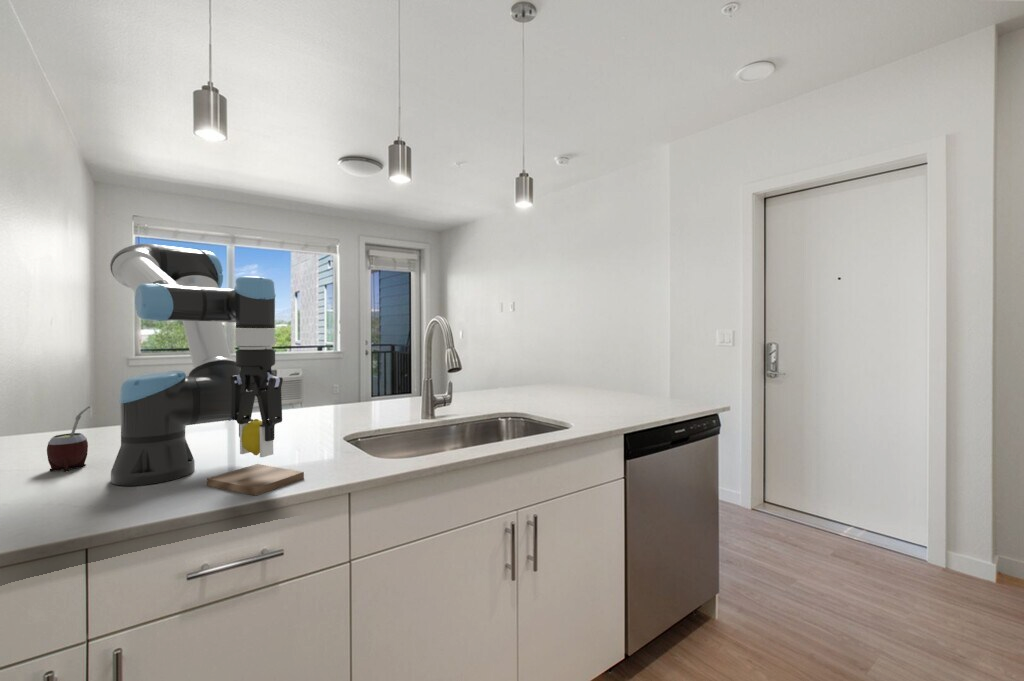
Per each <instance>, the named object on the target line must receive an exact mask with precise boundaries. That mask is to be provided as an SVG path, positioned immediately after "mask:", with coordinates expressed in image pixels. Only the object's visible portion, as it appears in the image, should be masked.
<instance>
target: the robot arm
mask: <svg viewBox="0 0 1024 681" xmlns="http://www.w3.org/2000/svg"><path fill="white" fill-rule="evenodd" d="M109 267H110V268H109V269H110V272H111V274H112V276H113V278H114V279H115V280H116V281H117V282H118V283H119V284H121V285H122V286H124V287H126V288H129V289H131V290H132V291H133V292H134V293H135V296H134V308H135V311H136V314H137V316H138V318H140V319H142V320H145V321H146V320H147V321H157V322H165V321H168V322H170V321H172V322H174V321H175V322H182V325H183V329H184V333H185V337H186V341H187V346H188V350H189V353H190V357H191V362H192V366H193V368H191V369H190V370H189V372H188V375H186V373H185V371H183V370H169V371H160V372H153V373H146V374H142V375H141V374H140V375H137V376H133V377H129V378H127V379H125V380H124V381H123V382H122V384H121V386H120V395H119V396H120V397H119V400H118V402H119V404H120V447H119V450H118V452H117V455H116V457H115V460H114V462H113V465H112V468H111V471H110V482H111V484H113V485H116V486H124V487H125V486H127V487H128V486H130V487H131V486H142V485H143V486H145V485H153V484H159V483H164V482H169V481H174V480H176V479H180V478H182V477H186V476H188V475H190V474H192V473H193V472H195V463H196V462H195V459H194V456H193V454H192V451H191V449H190V446H189V444H188V441H187V439H186V427H187V426H191V425H192V426H193V425H198V424H199V425H200V424H209V423H215V422H217V423H218V422H224V421H229V422H230V421H236V423H237V424H238V437H239V454H240V455H245V454H249V453H251V452H248V451H247V450H245V448H244V447H243V445H242V439H241V438H242V432H243V429H244V427H245V426H246V425H247V424H248V423H249V422H251V421H253V420H254V419H253V418H252V413H253V409H254V405H255V400H256V398H257V403H258V408H259V413H260V418H261V421H262V425H260V453H259V458H265V457H268V456H272V455H274V440H275V425H277V424H279V423H282V422H283V405H282V404H283V402H282V400H283V399H282V386H283V385H282V384H283V381H284V380H283V377H282V376H275V375H274V374H273V370H272V367H273V366H275V365H276V350H275V349H273V348H272V347H275V345H276V339H275V338H276V336H275V335H276V329H275V328H276V325H275V324H276V323H275V322H276V295H277V294H276V291H275V290H276V289H275V283H274V282H275V281H273V279H271V278H269V277H263V276H239V277H236V279H235V284H234V288H225V287H223V288H222V286H223V282H224V275H223V266H222V263H221V260H220V259H219V257H218V256H217V255H216V254H215V253H214V252H211V251H209V250H203V249H199V248H186V247H180V246H179V247H178V246H169V245H162V244H155V243H137V244H132V245H129V246H126V247H124V248H122V249H120V250H118V251H117V252H115V254H114V255H113V256H112V258H111V260H110V265H109ZM223 322H226V323H235V347H237V348H238V349H237V350H236V351H235V360H233V358H232V354H231V351H230V348H229V344H228V341H227V336H226V333H225V329H224V326H223Z"/></svg>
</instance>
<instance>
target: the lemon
mask: <svg viewBox="0 0 1024 681" xmlns="http://www.w3.org/2000/svg"><path fill="white" fill-rule="evenodd" d="M260 425H262V420H260V419H258V418H254V419H253V421H251V422H248V424H247V425H246V426H245V427H244V429H243V432H242V438H241V439H242V445H243V447H244V448H245V450H247V451H248V452H250V453H251V454H252V455H254V456H258V455H260Z"/></svg>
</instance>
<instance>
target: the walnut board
mask: <svg viewBox="0 0 1024 681" xmlns="http://www.w3.org/2000/svg"><path fill="white" fill-rule="evenodd" d="M304 472H305V471H302V470H301V471H300V470H294V469H290V468H284V467H276V466H272V465H266V464H265V465H264V464H260V463H257V464H252V465H249V466H246V467H242V468H239V469H238V468H237V469H235V470H232V471H228V472H224V473H221V474H218V475H214V476H211V477H207V478H206V486H207V487H213V488H217V489H223V490H226V489H227V490H226V491H231V492H235V491H236V492H235V493H240V492H241V493H240V494H246V495H250V496H259V495H262V494H265V493H267V492H271V491H272V490H277V489H279V488H282V487H284V486H287V485H289V484H293V483H295V482H298V481H301V480H304V479H305V473H304Z"/></svg>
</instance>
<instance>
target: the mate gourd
mask: <svg viewBox="0 0 1024 681" xmlns="http://www.w3.org/2000/svg"><path fill="white" fill-rule="evenodd" d="M90 408H91V406H87V407H86V408H84V409H83V410H81V411H80V412H79V413H78V414H77V415H76V417H75V421H74V424H73V427H72V429H71V432H69V433H62V434H56V435H54V436H52V437H51V438H50V439H49V441H48V442H47V445H46V456H47V462H48V463H49V466H50V468H49V472H53V471H52V470H56V471H62V470H61V469H64V470H63V473H66V471H68V472H69V471H70V470H71V469H70V468H72V469H76V468H75V467H80V468H83V467H82V466H87V464H86V463H85V462H86V460H87V458H88V451H89V450H88V449H89V442H88V439H87V437H86V435H84V434H83V433H80V432H76V429H77V426H78V424H79V421H80V420H81V418H82V415H83V414H84V413H85V412H86V411H88V409H90ZM69 469H70V470H69Z"/></svg>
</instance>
